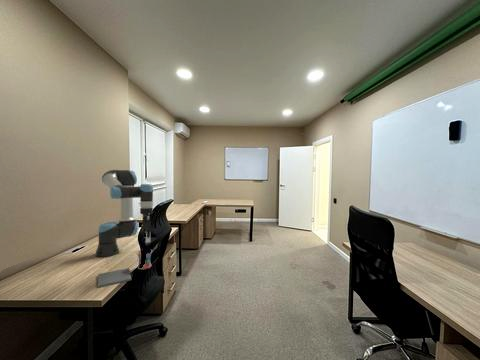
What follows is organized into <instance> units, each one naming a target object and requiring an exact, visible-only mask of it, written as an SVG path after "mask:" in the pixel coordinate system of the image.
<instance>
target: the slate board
mask: <svg viewBox="0 0 480 360" xmlns="http://www.w3.org/2000/svg"><path fill="white" fill-rule="evenodd" d="M128 281H132V276H131V272H130V268H129V267H128V268H123V269H121V268H120V269H117V270H113V271H106V272H102V273H101V272H100V273H98V277H97V288H103V287H107V286H111V285H115V284H120V283H124V282H128Z"/></svg>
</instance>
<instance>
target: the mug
mask: <svg viewBox="0 0 480 360" xmlns="http://www.w3.org/2000/svg"><path fill="white" fill-rule="evenodd" d="M141 250H142V249H141ZM141 250H138V251H137V252H136V255H137V257H138V265H137V269H138V270H139V271H140V270H141V271H143V270H147V269H150V268H151V267H152V263H151V256H152V253H153V249H150V250H151V252H150V253H147V254H146V260H145V264H144V265H143V267H142V268H139V266H140V264H141Z"/></svg>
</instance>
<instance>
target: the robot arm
mask: <svg viewBox="0 0 480 360" xmlns="http://www.w3.org/2000/svg"><path fill="white" fill-rule="evenodd" d="M137 180H138V177H137V174H136V172H135V171H134V170H131V169H130V170H129V169H112V170H108V171H106V172H105V173H104V174H103V175H102V176H101V181H102V183H103V184H104V185H105V186H107V187H108V188H109V191H110V192H109V194H110V195H109V196H110V198H111V199H113V200H114V199H115V200H119V199H120V219H119V220H118V222H116V221H108V222H105V223H102V224H100V225H99V227H98V231H97V232H98V245H97V247H96V250H95V257H97V258H107V257H113V256H116V255H118V254H119V253H120V248H119V246H118V244H117V240H118V239H123V238H130V237H134V236H136V235H137V233H138V230H139V224H138V221H137V220H136V219H135V217H134V208H133V207H134V206H133V205H134V202H133V199H135V198H140V199H139V201H140V202H139V203H138V204H139V206H140V209H139V211H140V215H142V222H141V226H142V225H143V224H144V223H145V225H146V231H145V233H146V237H145V244H147V243H151V233H152V225H151V216H150V214H153V213H154V211H153V209H154V208H153V206H154V185H153V184H151V183H142V184H140V185H139V186H135V185H136V184H137V183H138V182H137ZM145 221H146V222H145Z"/></svg>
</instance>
